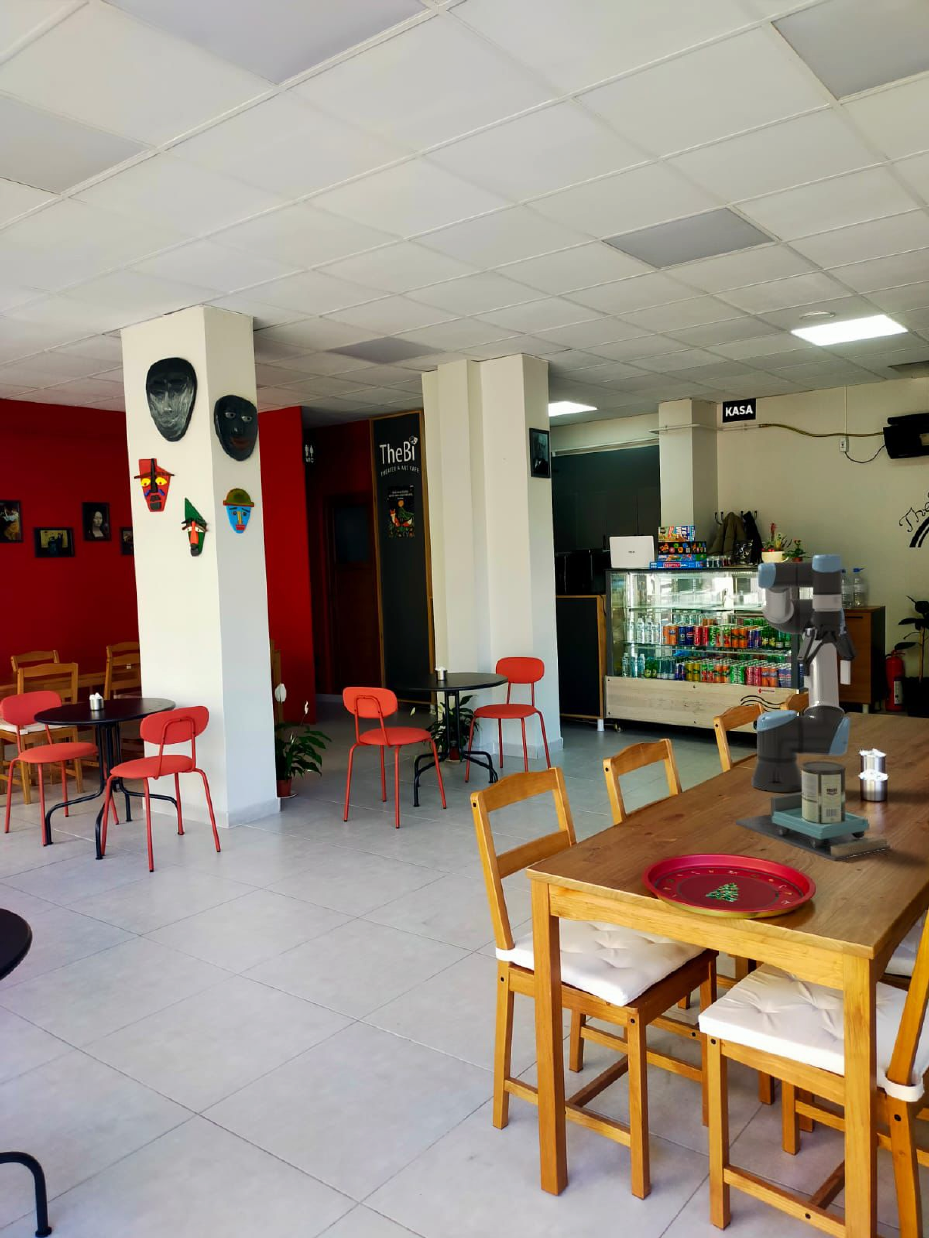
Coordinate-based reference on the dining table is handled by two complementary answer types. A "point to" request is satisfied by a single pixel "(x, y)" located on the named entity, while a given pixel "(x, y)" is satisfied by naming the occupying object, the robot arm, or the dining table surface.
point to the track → (831, 846)
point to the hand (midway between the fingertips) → (827, 685)
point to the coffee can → (823, 792)
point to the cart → (790, 817)
